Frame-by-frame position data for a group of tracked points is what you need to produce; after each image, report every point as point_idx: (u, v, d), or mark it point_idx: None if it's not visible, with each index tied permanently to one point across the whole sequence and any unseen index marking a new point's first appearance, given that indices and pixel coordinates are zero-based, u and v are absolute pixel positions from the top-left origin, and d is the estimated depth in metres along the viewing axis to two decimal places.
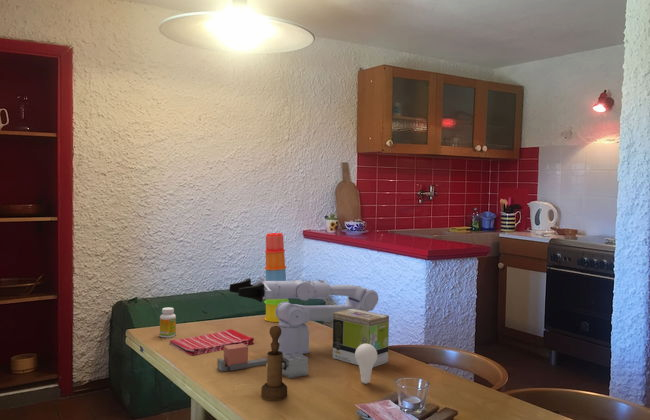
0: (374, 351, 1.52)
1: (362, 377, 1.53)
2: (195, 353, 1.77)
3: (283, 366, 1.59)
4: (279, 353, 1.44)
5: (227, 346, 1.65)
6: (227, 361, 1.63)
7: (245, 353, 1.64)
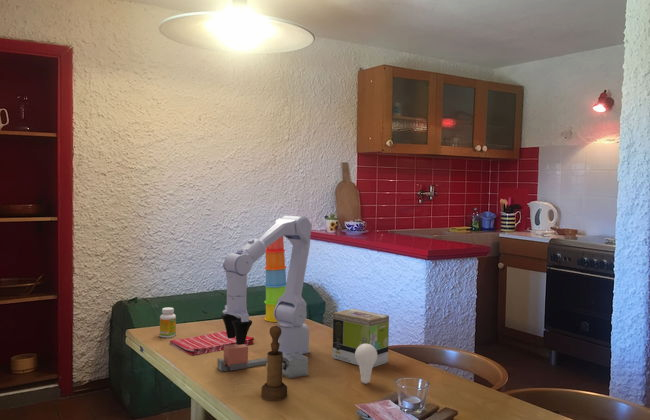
0: (374, 351, 1.52)
1: (362, 377, 1.53)
2: (195, 353, 1.77)
3: (283, 366, 1.59)
4: (279, 353, 1.44)
5: (227, 346, 1.65)
6: (227, 361, 1.63)
7: (245, 353, 1.64)
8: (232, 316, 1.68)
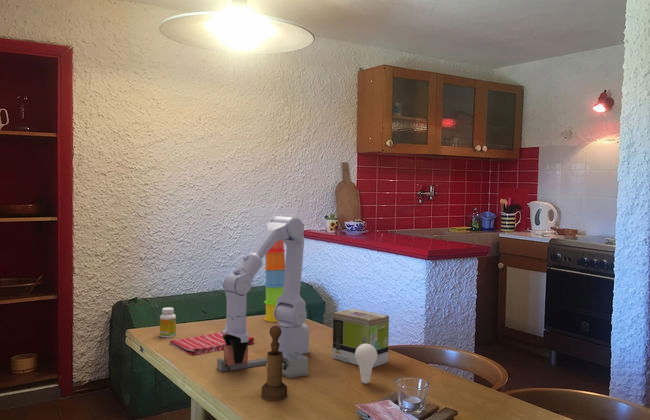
0: (374, 351, 1.52)
1: (362, 377, 1.53)
2: (195, 353, 1.77)
3: (283, 366, 1.59)
4: (279, 353, 1.44)
5: (227, 346, 1.65)
6: (227, 361, 1.63)
7: (245, 353, 1.64)
8: (234, 337, 1.67)
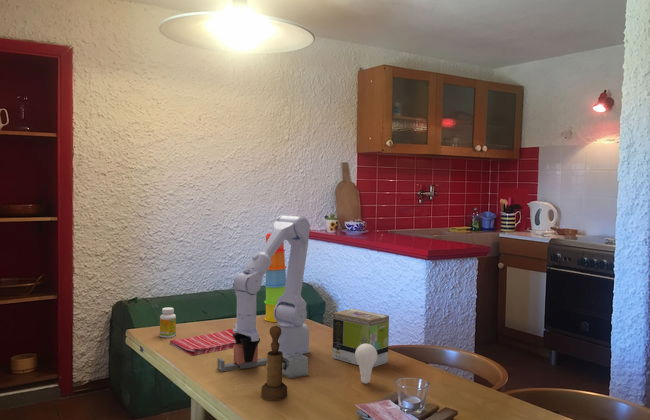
0: (374, 351, 1.52)
1: (362, 377, 1.53)
2: (195, 353, 1.77)
3: (283, 366, 1.59)
4: (279, 353, 1.44)
5: (237, 345, 1.66)
6: (237, 359, 1.64)
7: (255, 352, 1.66)
8: (244, 335, 1.68)
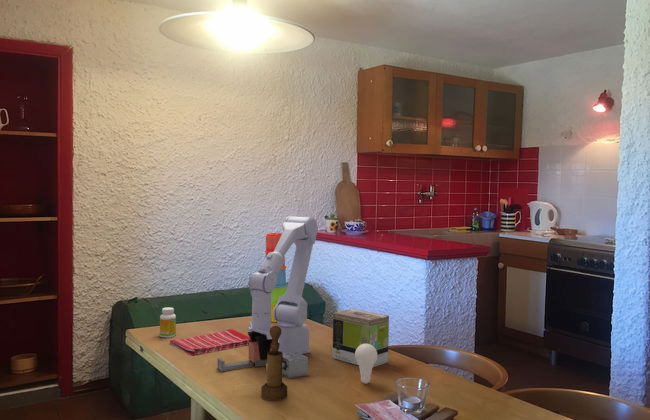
0: (374, 351, 1.52)
1: (362, 377, 1.53)
2: (195, 353, 1.77)
3: (283, 366, 1.59)
4: (279, 353, 1.44)
5: (252, 343, 1.68)
6: (252, 357, 1.67)
7: (270, 350, 1.68)
8: (259, 334, 1.71)
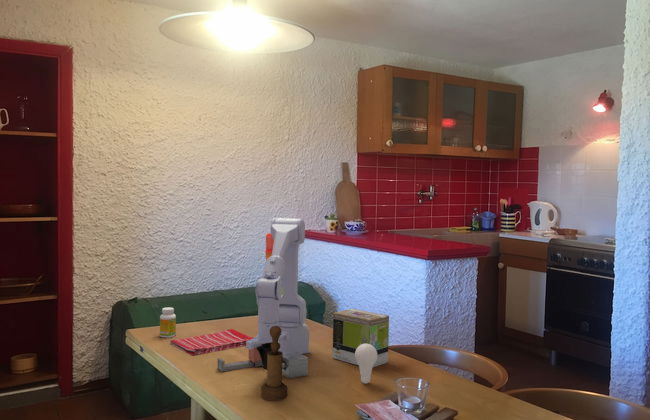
0: (374, 351, 1.52)
1: (362, 377, 1.53)
2: (196, 353, 1.77)
3: None
4: (279, 353, 1.44)
5: None
6: (252, 357, 1.67)
7: None
8: None
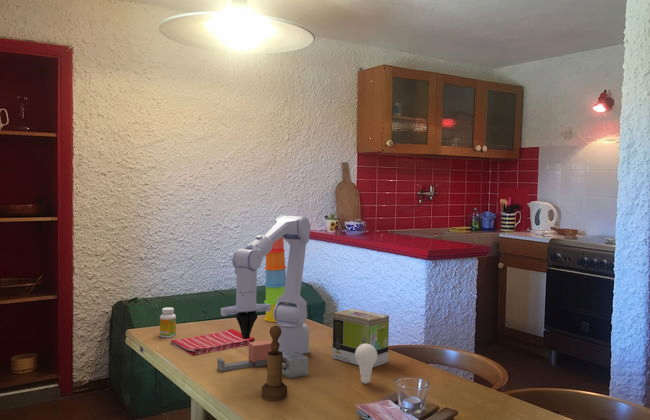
0: (374, 351, 1.52)
1: (362, 377, 1.53)
2: (196, 353, 1.77)
3: None
4: (279, 353, 1.44)
5: (252, 343, 1.68)
6: (252, 357, 1.67)
7: (270, 350, 1.68)
8: (246, 316, 1.61)
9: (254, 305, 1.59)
